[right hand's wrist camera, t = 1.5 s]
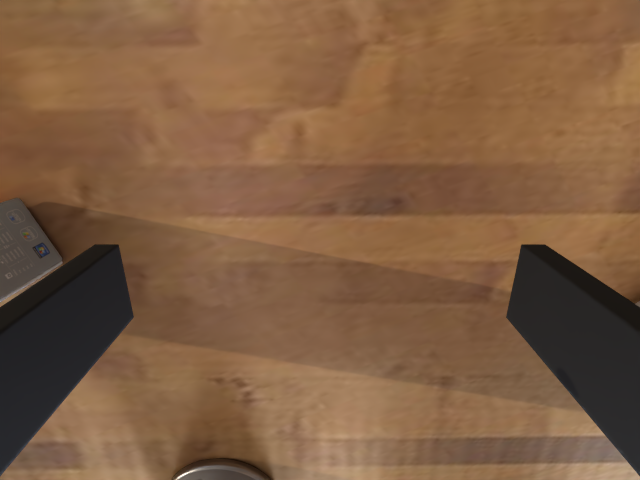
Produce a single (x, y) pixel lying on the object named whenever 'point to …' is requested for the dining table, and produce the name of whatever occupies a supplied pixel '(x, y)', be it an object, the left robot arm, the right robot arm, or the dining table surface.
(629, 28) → the dining table surface
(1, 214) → the hard drive box
